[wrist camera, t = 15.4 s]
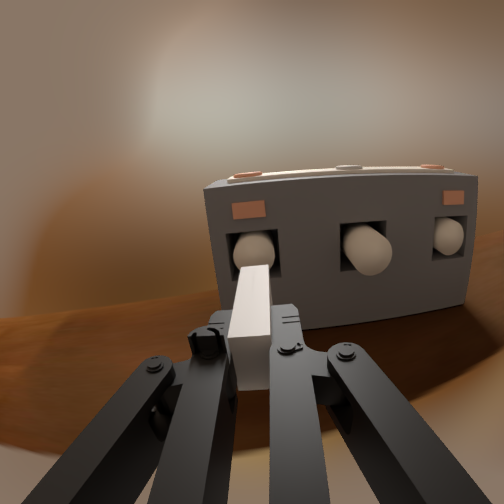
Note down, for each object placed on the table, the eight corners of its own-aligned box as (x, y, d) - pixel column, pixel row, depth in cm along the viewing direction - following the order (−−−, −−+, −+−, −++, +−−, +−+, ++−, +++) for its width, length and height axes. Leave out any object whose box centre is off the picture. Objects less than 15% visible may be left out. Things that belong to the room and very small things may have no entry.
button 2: (439, 239, 33) (441, 209, 32) (461, 253, 28) (464, 220, 27) (414, 242, 33) (416, 211, 32) (435, 256, 28) (438, 221, 27)
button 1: (274, 255, 35) (271, 221, 33) (276, 273, 29) (272, 234, 28) (239, 258, 35) (235, 224, 34) (236, 277, 30) (230, 238, 28)
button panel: (433, 276, 39) (438, 163, 33) (465, 304, 30) (479, 170, 24) (233, 298, 41) (216, 174, 35) (226, 336, 32) (201, 181, 26)
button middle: (372, 254, 31) (372, 219, 30) (390, 273, 26) (392, 232, 25) (338, 257, 32) (338, 221, 30) (352, 277, 26) (352, 236, 25)
